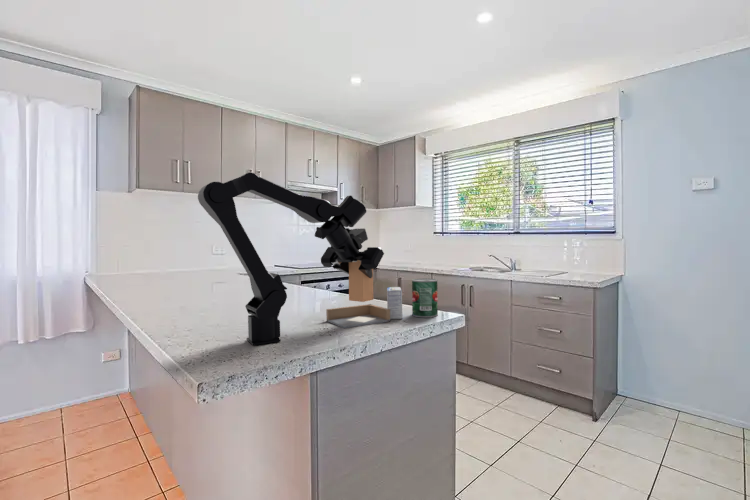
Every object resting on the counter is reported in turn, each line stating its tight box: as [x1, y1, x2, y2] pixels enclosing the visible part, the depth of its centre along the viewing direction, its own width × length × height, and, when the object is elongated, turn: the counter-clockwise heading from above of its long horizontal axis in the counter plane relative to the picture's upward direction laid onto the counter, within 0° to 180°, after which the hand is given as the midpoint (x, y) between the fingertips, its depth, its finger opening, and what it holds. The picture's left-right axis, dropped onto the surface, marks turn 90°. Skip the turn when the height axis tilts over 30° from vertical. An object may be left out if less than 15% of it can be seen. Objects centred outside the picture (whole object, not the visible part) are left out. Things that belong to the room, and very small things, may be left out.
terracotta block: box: [348, 260, 374, 303], centre depth 115 cm, size 5×5×12 cm
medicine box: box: [386, 286, 403, 320], centre depth 123 cm, size 8×4×9 cm, turn 179°
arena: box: [325, 303, 391, 329], centre depth 116 cm, size 15×11×4 cm
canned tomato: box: [411, 278, 439, 318], centre depth 124 cm, size 8×8×11 cm
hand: (364, 276), depth 116 cm, fingers closed on terracotta block, 5 cm apart
